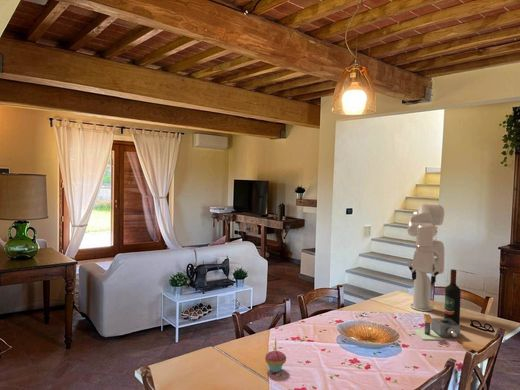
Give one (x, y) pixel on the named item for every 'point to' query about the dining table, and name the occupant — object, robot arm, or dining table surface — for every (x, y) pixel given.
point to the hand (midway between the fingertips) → (423, 281)
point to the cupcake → (275, 360)
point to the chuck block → (445, 327)
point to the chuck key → (427, 323)
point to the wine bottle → (452, 299)
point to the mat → (427, 337)
